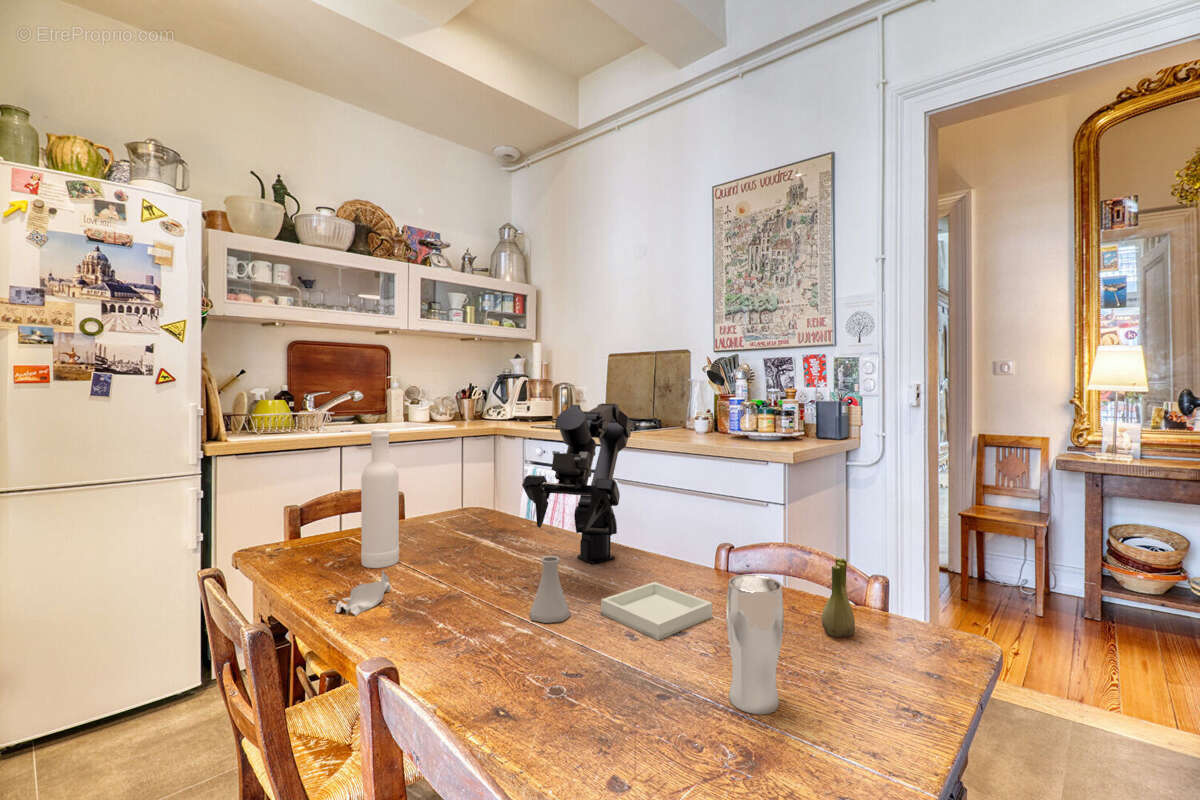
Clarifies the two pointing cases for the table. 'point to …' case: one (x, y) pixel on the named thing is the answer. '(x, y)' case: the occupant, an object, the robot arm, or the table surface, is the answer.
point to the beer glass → (754, 641)
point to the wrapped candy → (365, 596)
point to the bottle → (380, 506)
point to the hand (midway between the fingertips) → (561, 528)
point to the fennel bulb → (838, 605)
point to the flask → (550, 595)
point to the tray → (656, 610)
